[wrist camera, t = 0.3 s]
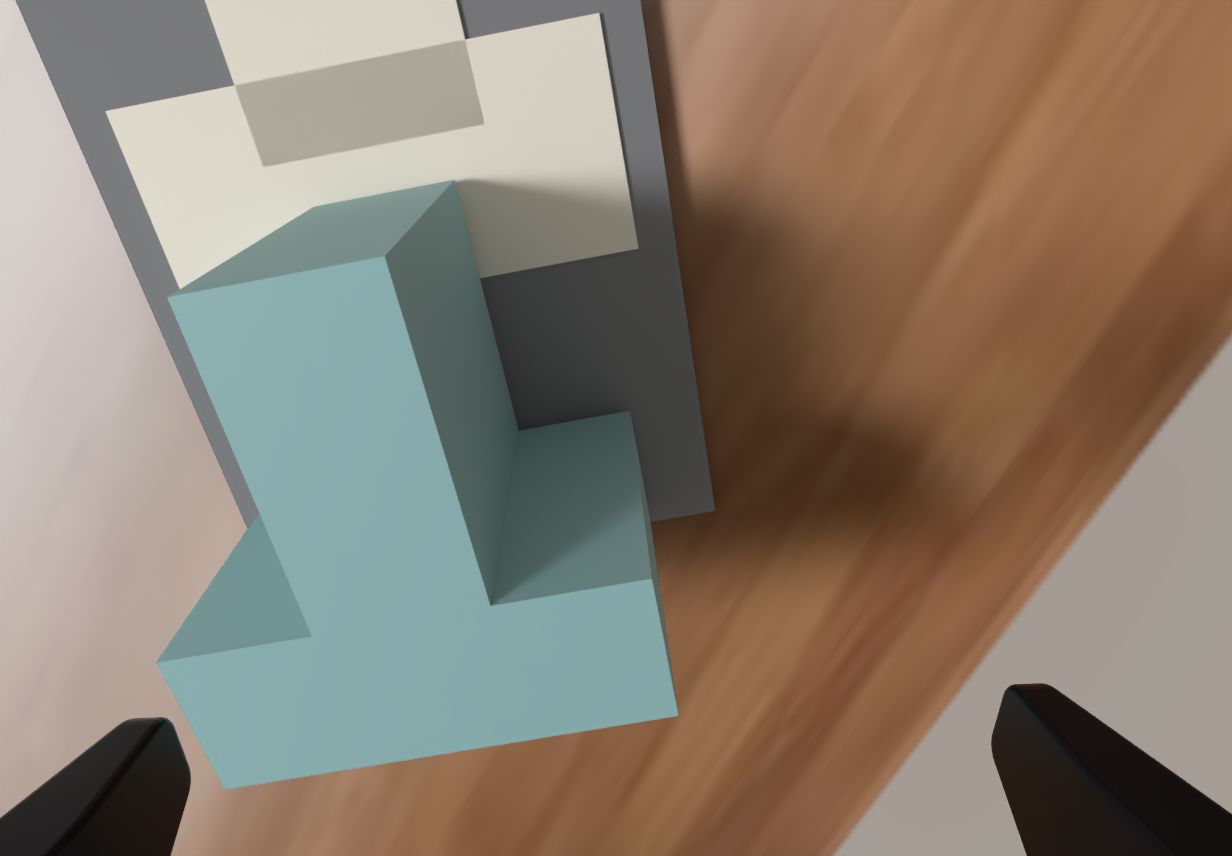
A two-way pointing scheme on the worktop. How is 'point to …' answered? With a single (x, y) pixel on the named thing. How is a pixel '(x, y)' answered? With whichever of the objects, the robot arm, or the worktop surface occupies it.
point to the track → (407, 176)
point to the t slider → (403, 515)
